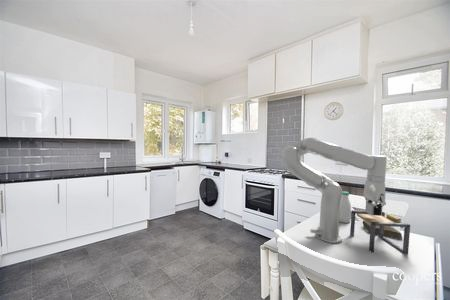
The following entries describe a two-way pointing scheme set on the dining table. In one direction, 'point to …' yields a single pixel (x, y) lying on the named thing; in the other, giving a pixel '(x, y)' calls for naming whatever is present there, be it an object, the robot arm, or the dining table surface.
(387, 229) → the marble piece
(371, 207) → the granite block
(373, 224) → the frame
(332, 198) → the robot arm
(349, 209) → the milk bottle
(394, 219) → the trapdoor
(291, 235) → the dining table surface
